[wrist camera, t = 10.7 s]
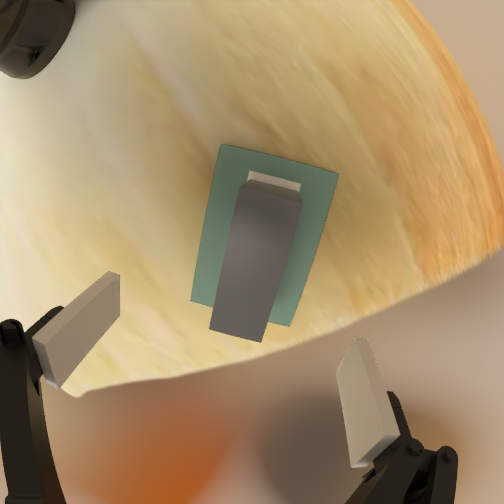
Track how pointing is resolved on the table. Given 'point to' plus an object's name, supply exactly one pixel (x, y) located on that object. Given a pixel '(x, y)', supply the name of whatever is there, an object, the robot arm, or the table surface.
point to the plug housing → (255, 258)
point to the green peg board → (222, 208)
